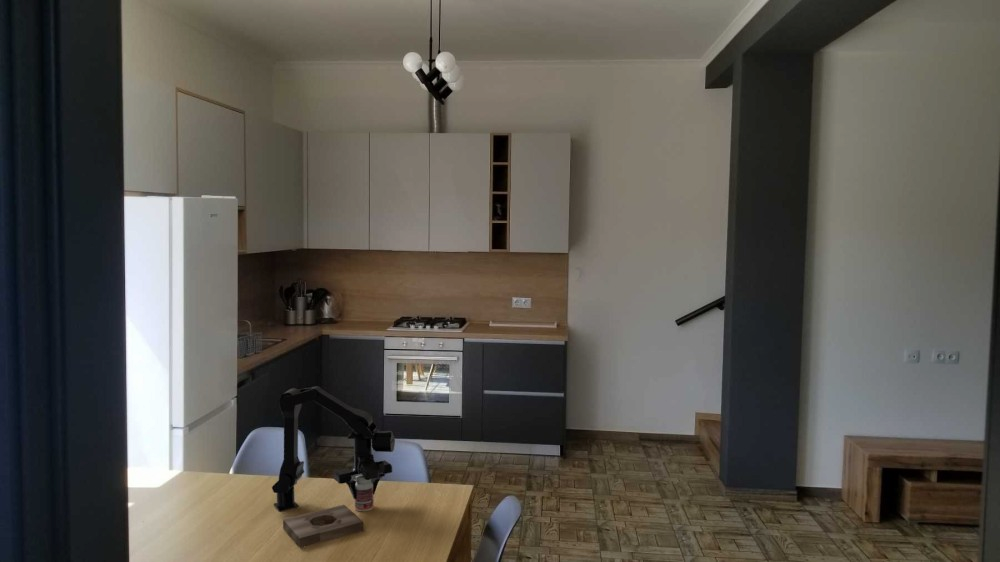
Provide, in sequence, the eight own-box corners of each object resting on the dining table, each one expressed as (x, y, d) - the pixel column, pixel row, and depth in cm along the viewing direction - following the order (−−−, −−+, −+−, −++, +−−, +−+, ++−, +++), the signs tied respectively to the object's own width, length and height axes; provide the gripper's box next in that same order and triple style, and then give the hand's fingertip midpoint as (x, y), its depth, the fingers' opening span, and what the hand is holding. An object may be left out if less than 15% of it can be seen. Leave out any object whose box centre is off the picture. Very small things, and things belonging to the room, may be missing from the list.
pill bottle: (376, 509, 229) (375, 476, 228) (359, 513, 226) (358, 480, 225) (369, 503, 234) (368, 470, 233) (352, 507, 231) (351, 474, 230)
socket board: (283, 528, 215) (282, 519, 215) (344, 513, 226) (344, 504, 226) (299, 548, 202) (299, 538, 201) (363, 530, 213) (363, 521, 213)
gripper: (345, 463, 217) (346, 511, 218) (399, 452, 227) (400, 498, 228) (332, 453, 226) (333, 500, 227) (384, 443, 236) (385, 487, 237)
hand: (363, 496), depth 230 cm, fingers closed on pill bottle, 6 cm apart
